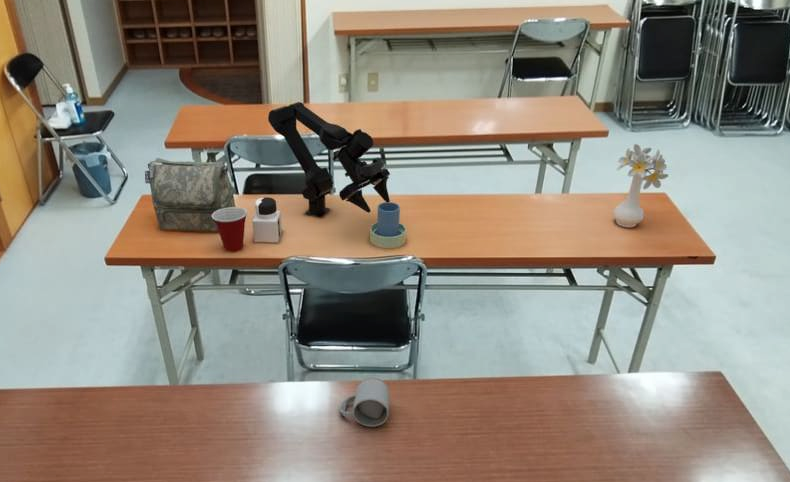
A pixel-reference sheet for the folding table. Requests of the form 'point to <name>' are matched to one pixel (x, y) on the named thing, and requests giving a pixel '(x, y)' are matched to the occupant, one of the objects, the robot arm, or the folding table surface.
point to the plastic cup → (231, 227)
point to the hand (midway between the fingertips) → (379, 207)
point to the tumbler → (388, 219)
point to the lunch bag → (188, 193)
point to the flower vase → (638, 183)
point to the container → (267, 221)
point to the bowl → (387, 238)
